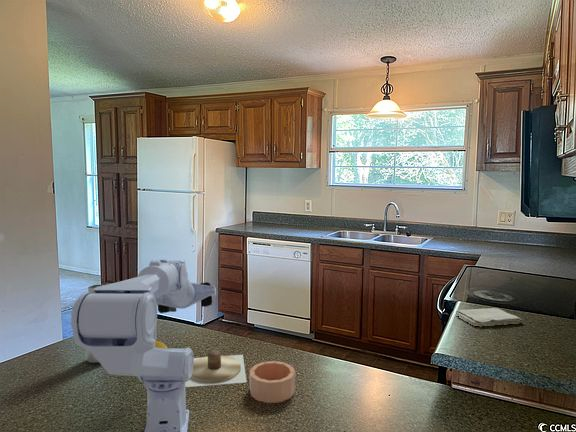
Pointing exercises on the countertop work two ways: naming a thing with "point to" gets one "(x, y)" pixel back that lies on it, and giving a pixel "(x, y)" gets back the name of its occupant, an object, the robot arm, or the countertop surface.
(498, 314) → the washcloth
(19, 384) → the countertop surface
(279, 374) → the bowl
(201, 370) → the lid
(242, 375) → the mat
